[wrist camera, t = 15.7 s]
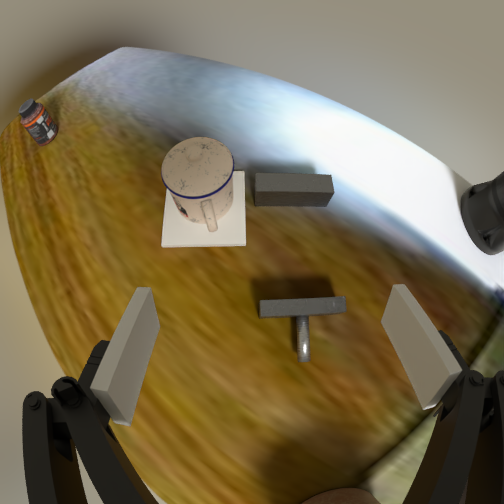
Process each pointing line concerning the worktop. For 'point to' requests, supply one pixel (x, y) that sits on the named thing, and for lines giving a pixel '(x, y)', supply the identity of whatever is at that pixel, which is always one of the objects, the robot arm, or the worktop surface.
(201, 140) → the teacup with lid
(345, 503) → the planter
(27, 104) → the supplement bottle
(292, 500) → the worktop surface
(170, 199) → the tile
